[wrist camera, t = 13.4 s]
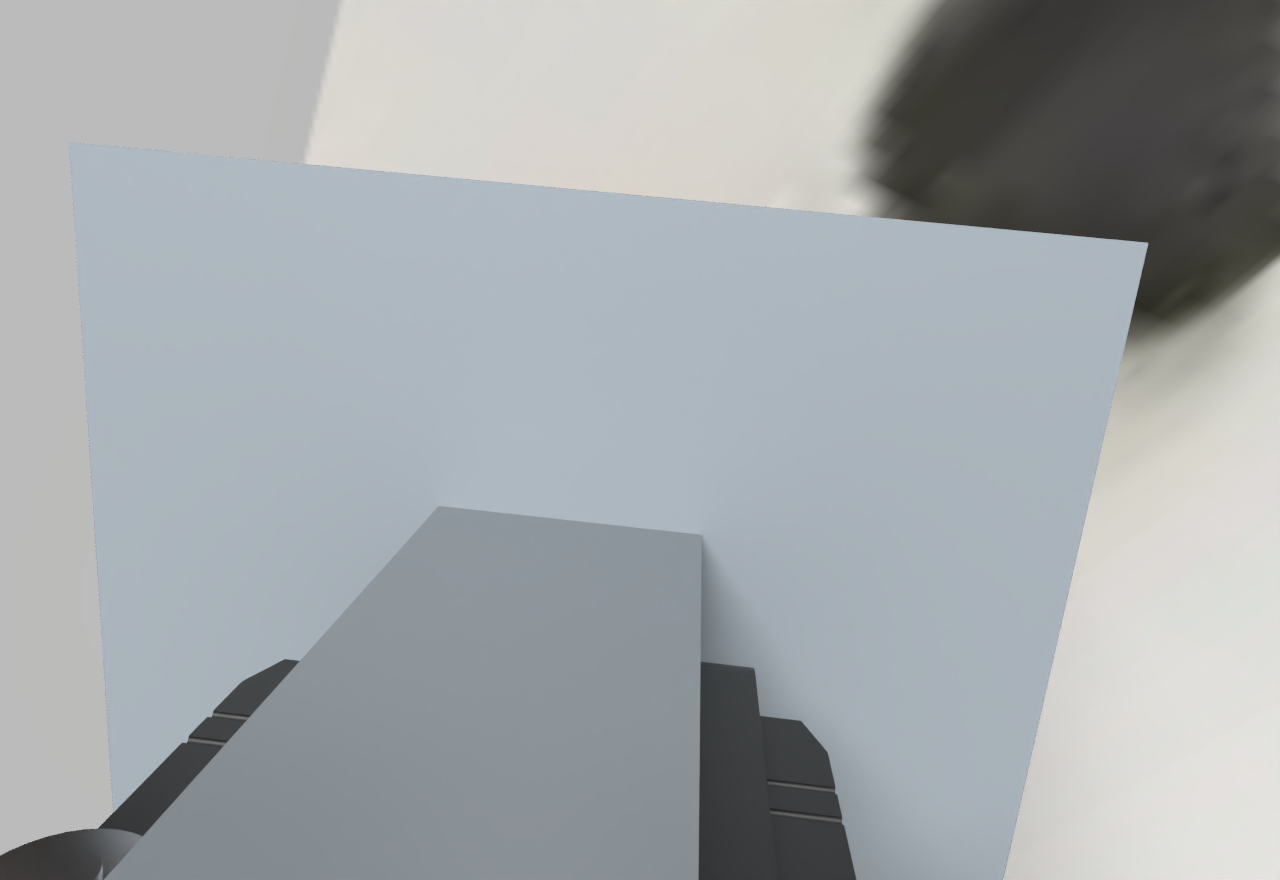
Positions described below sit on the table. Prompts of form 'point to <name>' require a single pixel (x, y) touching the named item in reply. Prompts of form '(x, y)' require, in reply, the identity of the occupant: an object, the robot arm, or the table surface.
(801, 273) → the square plate with knob
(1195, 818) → the table surface
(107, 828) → the robot arm
